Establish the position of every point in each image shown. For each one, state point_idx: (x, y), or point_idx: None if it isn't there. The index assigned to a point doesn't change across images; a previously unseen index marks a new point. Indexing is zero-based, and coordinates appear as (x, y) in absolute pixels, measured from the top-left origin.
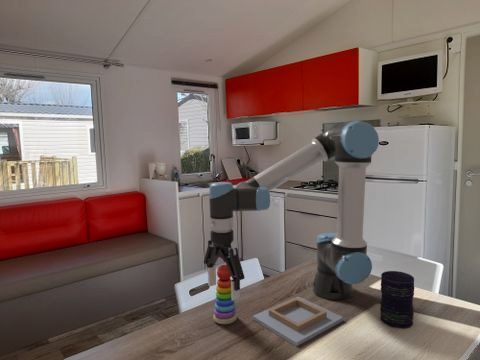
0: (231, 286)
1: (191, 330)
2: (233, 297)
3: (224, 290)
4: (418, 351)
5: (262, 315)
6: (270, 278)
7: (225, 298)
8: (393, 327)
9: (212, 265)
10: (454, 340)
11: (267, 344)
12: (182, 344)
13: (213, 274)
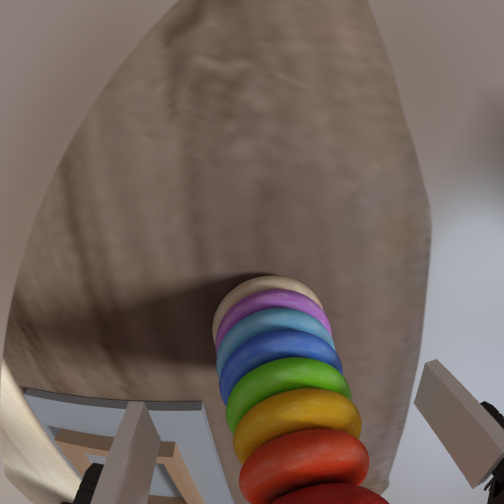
0: (113, 481)
1: (274, 147)
2: (125, 420)
3: (243, 430)
4: (10, 468)
5: (185, 431)
6: (378, 493)
7: (232, 390)
8: (65, 502)
9: (497, 476)
10: (31, 498)
11: (47, 345)
12: (192, 73)
13: (455, 438)
